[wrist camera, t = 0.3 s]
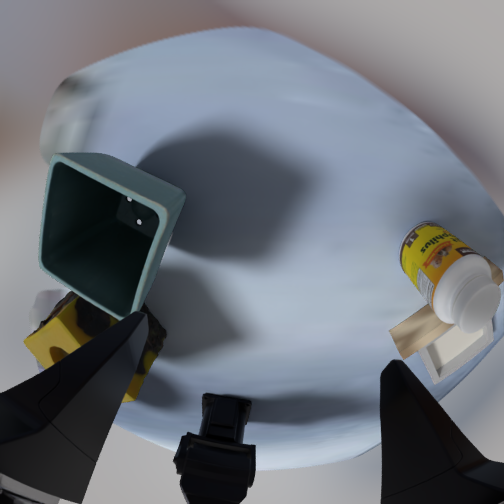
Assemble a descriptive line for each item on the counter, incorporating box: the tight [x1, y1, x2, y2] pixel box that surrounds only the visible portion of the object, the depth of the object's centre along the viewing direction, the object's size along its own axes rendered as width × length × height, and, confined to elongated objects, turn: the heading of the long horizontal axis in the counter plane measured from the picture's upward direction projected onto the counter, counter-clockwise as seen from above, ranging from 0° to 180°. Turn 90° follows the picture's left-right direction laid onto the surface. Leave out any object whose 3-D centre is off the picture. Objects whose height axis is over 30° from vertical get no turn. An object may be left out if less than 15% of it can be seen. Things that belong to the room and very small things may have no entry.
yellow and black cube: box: [24, 291, 167, 403], centre depth 23 cm, size 10×10×10 cm
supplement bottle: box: [399, 222, 501, 334], centre depth 17 cm, size 6×6×10 cm
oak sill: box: [389, 256, 504, 360], centre depth 22 cm, size 14×2×4 cm, turn 130°
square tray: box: [418, 319, 494, 385], centre depth 24 cm, size 10×10×2 cm
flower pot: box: [38, 153, 186, 320], centre depth 18 cm, size 9×9×9 cm
